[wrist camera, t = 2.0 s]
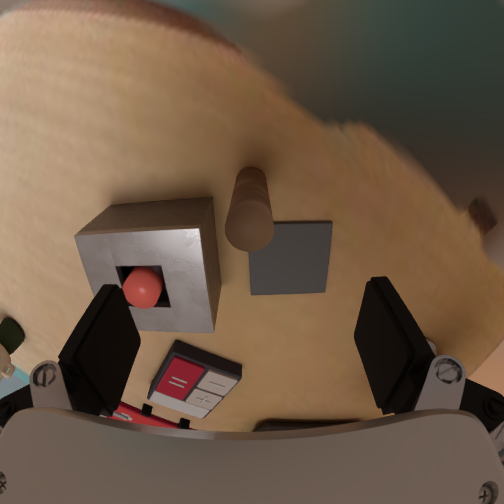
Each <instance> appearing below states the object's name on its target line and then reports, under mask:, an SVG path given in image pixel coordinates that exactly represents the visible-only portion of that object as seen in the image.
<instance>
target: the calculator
mask: <svg viewBox="0 0 504 504" xmlns="http://www.w3.org/2000/svg"><path fill="white" fill-rule="evenodd" d="M241 378H242V365H241V364H238V363H235V362H232V361H230V360H227V359H224V358H222V357H219V356H216V355H214V354H211V353H209V352H206V351H204V350H201V349H199V348H196V347H194V346H191V345H189V344H186V343H184V342H182V341H179V340H175V342H174V343H173V345H172V347H171V349H170V350H169V352H168V354H167V356H166V358H165V360H164V361H163V363H162V365H161V367H160V369H159V371H158V372H157V374H156V375H155V377H154V379H153V381H152V383H151V385H150V389H149V392H148V396H147V399H149V400H150V401H152V402H155V403H158V404H160V405H163V406H166V407H168V408H171V409H174V410H177V411H180V412H183V413H186V414H189V415H192V416H195V417H198V418H205V417H206V416H207V415H208V414H209V413H210V412H211V411H212V410H213V409H214V407H215V406H216V405H217V404H218V403H219V402H220V401H221V400H222V399H223V398H224V397H225V396H226V395H227V394H228V393H229V392H230V391H231V390H232V388H233V387H234V386H235V385H236V384H237V383H238V382H239V381H240V380H241Z"/></svg>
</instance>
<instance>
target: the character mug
mask: <svg viewBox="0 0 504 504" xmlns="http://www.w3.org/2000/svg"><path fill="white" fill-rule="evenodd" d="M23 341H24V337H23V334H22V332H21V331H20V329H19V327H18V326H17V325H16V324H15V323H14V322H13V321H12V320H10V319H8V318H5V319H4V320H3V321H2V322H1V324H0V381H1V379H2V378H3V377H4V376H5V377H6V378H10V377H11V376H12V374H13V372H14V371H15V366H14V365H12V364H11V358H10V356H9V355H10V354H12V353H13V352H14V351H15V350H16V349H17V348H18V347H19V346H20V345H21V344H22V342H23ZM9 368H10V370H9V371H8V373H6V372H7V370H8V369H9Z"/></svg>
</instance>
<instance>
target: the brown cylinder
mask: <svg viewBox="0 0 504 504" xmlns="http://www.w3.org/2000/svg"><path fill="white" fill-rule="evenodd" d="M225 234H226V237H227V239H228V241H229V242H230V243H231V244H232V245H233V246H234V247H235V248H237V249H239V250H242V251H247V252H253V251H258V250H260V249H262V248H264V247H265V246H267V245H268V244H269V243H270V241H271V240H272V238H273V235H274V223H273V217H272V211H271V206H270V200H269V194H268V188H267V183H266V178H265V175H264V174H263V172H262V171H261V170H259V169H257V168H255V167H248V168H245V169H243V170H241V171H240V172H239V174H238V175H237V178H236V182H235V186H234V190H233V194H232V199H231V203H230V207H229V211H228V216H227V220H226V225H225Z"/></svg>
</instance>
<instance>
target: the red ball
mask: <svg viewBox="0 0 504 504" xmlns="http://www.w3.org/2000/svg"><path fill="white" fill-rule="evenodd" d="M164 284H165V279H164V275H163V271H162V267H161V266H159V265H150V266H135V267H134V268H133V270H132V271H131V273H130V275H129V276H128V278H127V279H126V281H125V282H124V284H123V288H122V289H123V291H124V294H125V297H126V299H127V301H128V302H129V303H131V304H132V305H133V306H135V307H138V308H142V309H148V308H151V307H153V306H154V305H155V304H156V303H157V300H158V298H159V296H160V293H161V291H162V289H163V287H164Z"/></svg>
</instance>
